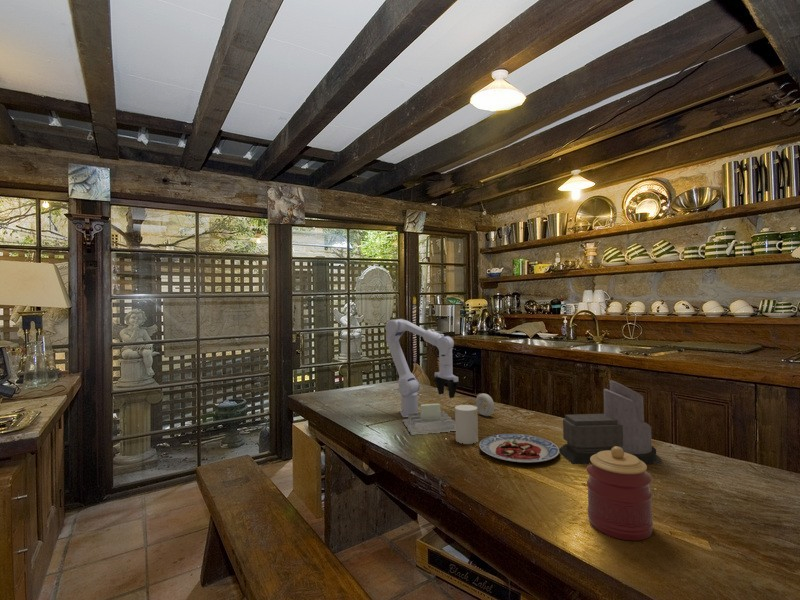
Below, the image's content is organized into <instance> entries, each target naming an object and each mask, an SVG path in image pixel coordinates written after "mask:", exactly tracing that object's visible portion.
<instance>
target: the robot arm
mask: <svg viewBox="0 0 800 600" xmlns="http://www.w3.org/2000/svg"><path fill="white" fill-rule="evenodd" d="M384 330H385V331H386V332H385V340H386V344H387V347H388V349H389V353H390V355H391V357H392V358H391V359H392V361H393V364H394V365H395V368H396V371H397V374H398V376H399V377H398V380H397V383H398V391H399V393H400V396H401V398H400V399H401V400H400V401H401V410H399V413H400V415H401V416H402V418H408V413H418V412H419V401H418V400H419V399H418V397H419V396H418V392H419V390H420V388H421V385H420V382H419V381H418V379H416V376H415V375H414V374H413V373H412V372H411V370H410V367H409V365H408V363H407V360H406V357H405V354H404V352H403V349H402V347H401V344H400V338H401V337H402V336H403V334H404V333H405V332H409V333H412V334H415V335H417V336H420V337H422V338H423V340H424V342H426V343H428V344H431V345H432V346H434V347H436V348H437V349H438V359H439V360H438V363H439V364H438V367H439V368H438V369H439V371H437V372H436V371H435V372H434V378H433V382H434V384H435V386H436V388H437V392H438V395H444V394H445V383H446V386H447V390H448V396H449V397H448V398H449V399H452V398H455V396H456V392H457V388H458V386H459V385H460V381H459V376H456V375H454V374H453V372H454V371H453V347H454V346H455V341H454V339H453V337H451V336H450V335H445V334H443V333H440V332H437V331H436V330H435V329H433V328H429V329H424V328H423V327H420V326H418V325H417V324H415V323H413V322H411V321H409V320H406V319H405V318H398V319H397V318H396V319H389V320H388V321H387V322H386V324H385V326H384ZM446 380H447V381H446Z"/></svg>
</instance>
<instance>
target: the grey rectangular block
mask: <svg viewBox="0 0 800 600" xmlns="http://www.w3.org/2000/svg"><path fill="white" fill-rule="evenodd" d="M441 406H442V405H441V403H426V404H420V409H419V410H420V412H421V419H427V418H441V411H442V410H441Z"/></svg>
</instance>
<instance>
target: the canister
mask: <svg viewBox="0 0 800 600" xmlns="http://www.w3.org/2000/svg"><path fill="white" fill-rule="evenodd" d="M590 461H591V463H590V464H587V466H586V472H587V474H588V479H587V480H586V486H587V508H586V509H587V516H588V521H589V523H590V524H591V526H593V528H595V530H597V531H599V532H601V533H602V534H604V535H606V536H608V537H612V538H614V539H618V540H619V539H620V540H623V541H634V542H635V541H641V540H646V539H648V538H650V537H651V536H652V533H653V529H654V520H653V511H652V510H653V507H652V505H653V504H652V503H653V502H652V501H653V500H652V498H653V492H652V489H650V484H651V483H652V481H653V478H652V475H651V474H650V473H649V472H648V471H647V469H648V465H646V464H645V463H644V462H643V461H641V460H639V459H638V458H637V457H636V456H634V455H632V454H629V453H626V452H624V451H623V449H622V448H621V447H618V446H615V447H613V448H612V449H611V450H606V451H600V452H598V453H597V454H594V455H592V456H591V457H590Z"/></svg>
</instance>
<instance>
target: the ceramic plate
mask: <svg viewBox="0 0 800 600" xmlns="http://www.w3.org/2000/svg"><path fill="white" fill-rule="evenodd" d="M478 446H479V449H480V450H481V451H482V452H483V453H485V454H487V455H488V456H491V457H493V458H495V459H498V460H503V461H509V462H515V463H516V462H517V463H541V462H547V461H550V460H552V459H555V458H557V457H558V456H559V454H560V453H559V449H560V447H558V445H556V444H555V443H553V442H552V441H550V440H548V439H546V438H543V437H539V436H534V435H530V434H522V433H521V434H520V433H502V434H495V435H490V436H487V437H484V438H483V439H481V440H480V442H479V445H478Z"/></svg>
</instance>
